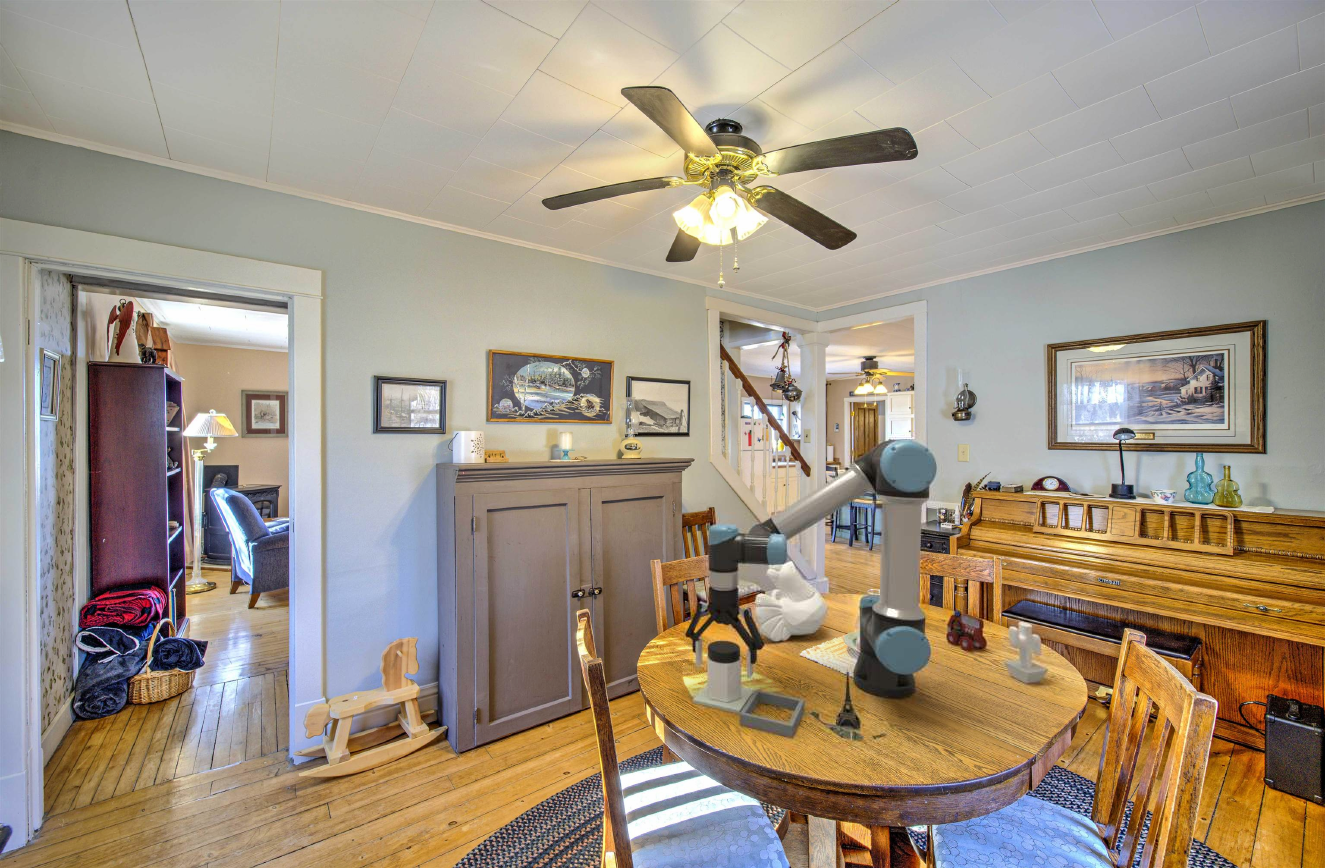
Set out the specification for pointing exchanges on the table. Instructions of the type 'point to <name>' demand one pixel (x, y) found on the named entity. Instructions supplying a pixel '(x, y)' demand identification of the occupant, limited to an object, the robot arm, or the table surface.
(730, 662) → the jar
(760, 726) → the pocket
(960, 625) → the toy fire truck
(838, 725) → the eiffel tower figurine
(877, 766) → the table surface
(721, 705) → the coaster
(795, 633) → the decorative rooster
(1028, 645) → the figurine
